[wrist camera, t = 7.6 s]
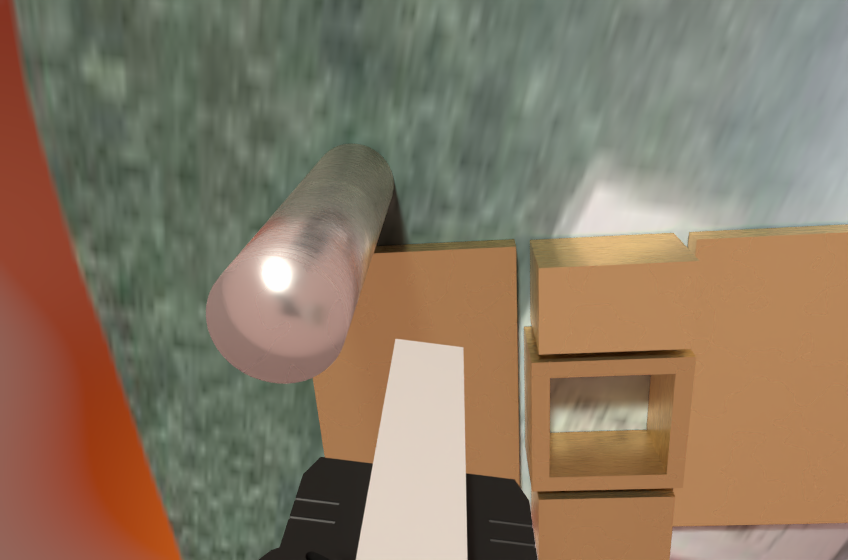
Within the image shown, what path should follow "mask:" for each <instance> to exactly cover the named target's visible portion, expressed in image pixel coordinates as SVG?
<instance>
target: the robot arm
mask: <svg viewBox="0 0 848 560" xmlns="http://www.w3.org/2000/svg"><path fill="white" fill-rule="evenodd" d="M259 560H537V554H536V548H535V540H534V533H533V528H532V519H531V512H530V505H529V500H528V499H527V497H526V496H525V494H524V493H523V491H522V490H521V488H520V487H519V485H518V484H517V482H516V481H515V479H508V478H500V477H492V476H484V475H476V474H468V473H466V459H465V407H464V354H463V347H457V346H449V345H441V344H433V343H425V342H417V341H409V340H402V339H395V344H394V350H393V355H392V361H391V367H390V372H389V378H388V383H387V389H386V394H385V400H384V405H383V411H382V417H381V422H380V428H379V433H378V439H377V444H376V450H375V456H374V461H373V463H365V462H357V461H349V460H341V459H333V458H325V457H320V458H319V459H318V460H317V461H316V462H315V463H314V464H313V465H312V466H311V467H310V468H309V469H308V470H307V471H306V472H305V473H304V474H303V477H302V480H301V483H300V486H299V489H298V492H297V495H296V500H295V501H294V504H293V508H292V511H291V514H290V519H289V520H288V523H287V526H286V529H285V532H284V535H283V539H282V542H281V545H280V547H279V548H277V549H274V550H271V551H270V552H268V553H267V554H266V555H264V556H263V557H262V558H260V559H259Z"/></svg>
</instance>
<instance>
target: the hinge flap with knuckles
mask: <svg viewBox="0 0 848 560" xmlns="http://www.w3.org/2000/svg"><path fill="white" fill-rule="evenodd" d="M530 319H531V323H532V328H533V332H534V336H535V340H536V344H537V349H538V353H539V355H543V354H569V353H596V352H623V351H649V350H676V349H691V350H692V351H693V353H694V354H695V356H696V364H695V374H694V384H693V393H692V403H691V413H690V423H689V433H688V442H687V452H686V462H685V472H684V482H683V488H672V490H673V492H674V494H675V507H674V517H673V526H719V525H769V524H818V523H848V224H846V225H826V226H805V227H785V228H764V229H744V230H723V231H703V232H689V242H688V248H687V247H686V246H685V245H684V244H683V243H682V242H681V240H680V239H679V238H678V237H677V236H676V235H675V234H674V233H662V234H641V235H621V236H600V237H580V238H559V239H539V240H530Z"/></svg>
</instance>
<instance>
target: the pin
mask: <svg viewBox="0 0 848 560" xmlns="http://www.w3.org/2000/svg"><path fill="white" fill-rule="evenodd" d="M393 190H394V180H393V175H392V171H391V169H390V167H389V165H388V163H387V162H386V160H385V159H384V158H383V157H382V156H381V155H380V154H379V153H378V152H376V151H375V150H373V149H372V148H370V147H367V146H365V145H361V144H343V145H339V146H337V147H334V148H333V149H331V150H329V151H328V152H327V153H326V154H325V155H324V156H323V157H322V158H321V159H320V160H319V162H318V163H317V164H316V165H315V166H314V167H313V169H312V170H311V171H310V172H309V173H308V174H307V176H306V177H305V178H304V179H303V180H302V181H301V183H300V184H299V185H298V186H297V187H296V188H295V189H294V191H293V192H292V193H291V194H290V195H289V196H288V198H287V199H286V200H285V201H284V202H283V203H282V205H281V206H280V207H279V208H278V209H277V210H276V212H275V213H274V214H273V215H272V216H271V217H270V219H269V220H268V221H267V222H266V223H265V224H264V226H263V227H262V228H261V229H260V230H259V231H258V233H257V234H256V235H255V236H254V237H253V238H252V240H251V241H250V242H249V243H248V244H247V245H246V247H245V248H244V249H243V250H242V251H241V252H240V254H239V255H238V256H237V257H236V258H235V259H234V260H233V262H232V263H231V264H230V265H229V266H228V267H227V269H226V270H225V271H224V272H223V273H222V274H221V276H220V277H219V278H218V279H217V281H216V282H215V284H214V285H213V287H212V289H211V291H210V293H209V297H208V300H207V305H206V320H207V326H208V330H209V333H210V336H211V338H212V340H213V342H214V344H215V346H216V347H217V349H218V350H219V351H220V353H221V354H222V355H223V356H224V357H225V359H226V360H227V361H228V362H229V363H231V364H232V365H233V366H234V367H236V368H237V369H239V370H240V371H242V372H243V373H245V374H247V375H249V376H251V377H254V378H257V379H259V380H263V381H267V382H272V383H296V382H300V381H304V380H307V379H310V378H313V377H315V376H317V375H319V374H320V373H322V372H323V371H325V370H326V369H327V368H328V367H329V366H330V365H331V364H332V363H333V362H334V361H335V360H336V358H337V357H338V355H339V354H340V352H341V350H342V347H343V345H344V342H345V339H346V336H347V333H348V330H349V327H350V324H351V321H352V318H353V315H354V312H355V309H356V306H357V302H358V299H359V296H360V293H361V290H362V287H363V284H364V281H365V278H366V275H367V272H368V269H369V266H370V263H371V260H372V256H373V253H374V250H375V247H376V244H377V241H378V238H379V235H380V232H381V229H382V226H383V223H384V220H385V217H386V214H387V211H388V207H389V204H390V201H391V198H392V195H393Z"/></svg>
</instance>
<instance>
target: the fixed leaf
mask: <svg viewBox="0 0 848 560" xmlns="http://www.w3.org/2000/svg"><path fill="white" fill-rule="evenodd" d="M395 339H402V340H409V341H417V342H425V343H433V344H441V345H449V346H457V347H463V354H464V407H465V459H466V473H468V474H476V475H484V476H492V477H500V478H508V479H515V481H516V482H517V484H518V485H519V487H520V478H519V411H518V344H517V277H516V244H515V240H514V239H509V240H489V241H468V242H448V243H427V244H407V245H386V246H376V247H375V250H374V253H373V256H372V260H371V263H370V266H369V269H368V272H367V275H366V278H365V281H364V284H363V287H362V290H361V293H360V296H359V299H358V302H357V306H356V309H355V312H354V315H353V318H352V321H351V324H350V327H349V330H348V333H347V336H346V339H345V342H344V345H343V347H342V350H341V352H340V354H339V355H338V357H337V358H336V360H335V361H334V362H333V363H332V364H331V365H330V366H329V367H328V368H327V369H326V370H325V371H323V372H322V373H320V374H319V375H317V376H315V377H313V382H314V389H315V395H316V402H317V408H318V415H319V422H320V428H321V435H322V441H323V448H324V455H325V458H333V459H341V460H349V461H357V462H365V463H373V461H374V456H375V450H376V444H377V439H378V433H379V428H380V422H381V417H382V411H383V405H384V400H385V394H386V389H387V383H388V378H389V372H390V367H391V361H392V355H393V350H394V344H395ZM695 364H696V356H695V354H694V353H693V351H692V350H691V349H676V350H649V351H623V352H596V353H569V354H543V355H539V353H538V349H537V344H536V340H535V336H534V332H533V328H532V326H530V327H524V380H525V448H526V455H527V461H528V467H529V474H530V480H531V514H532V521H533V528H534V534H535V541H536V548H537V555H538V560H669V558H670V548H671V537H672V527H673V517H674V507H675V494H674V492H673V490H672V488H683V482H684V472H685V462H686V452H687V442H688V433H689V423H690V413H691V403H692V393H693V384H694V374H695ZM627 375H651V378H650V391H649V405H648V419H647V430H627V431H593V432H560V433H550V378H570V377H598V376H627Z"/></svg>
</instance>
